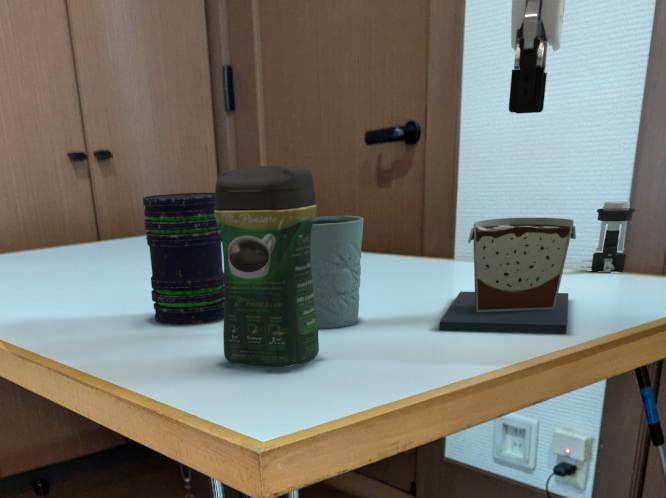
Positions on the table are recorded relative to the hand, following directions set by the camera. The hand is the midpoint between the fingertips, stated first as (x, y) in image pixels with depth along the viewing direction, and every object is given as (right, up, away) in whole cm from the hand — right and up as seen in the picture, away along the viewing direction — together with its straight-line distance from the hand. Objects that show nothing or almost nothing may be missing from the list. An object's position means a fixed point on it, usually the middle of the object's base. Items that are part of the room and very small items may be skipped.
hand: (526, 112), depth 90 cm
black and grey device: (+24, -6, +36) cm, 44 cm away
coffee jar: (-29, -29, -6) cm, 41 cm away
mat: (+1, -20, +10) cm, 22 cm away
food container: (+1, -19, +10) cm, 22 cm away
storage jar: (-39, -19, +17) cm, 46 cm away
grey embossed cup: (-22, -21, +11) cm, 32 cm away
